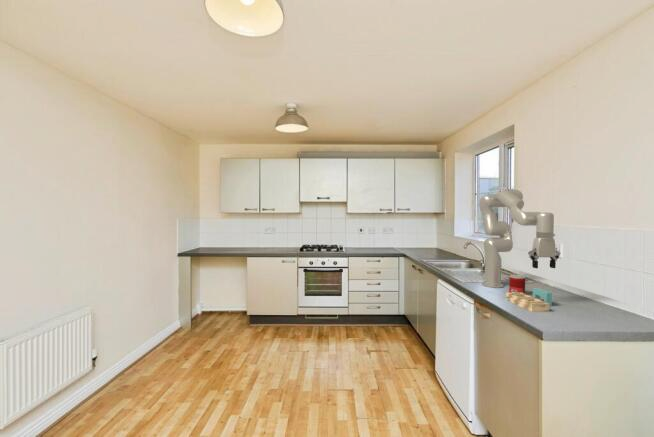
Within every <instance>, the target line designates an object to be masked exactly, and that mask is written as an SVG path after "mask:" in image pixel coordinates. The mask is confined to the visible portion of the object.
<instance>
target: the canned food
mask: <svg viewBox="0 0 654 437" xmlns="http://www.w3.org/2000/svg"><path fill="white" fill-rule="evenodd" d="M508 281H509V282H508V283H509V287H508V289H509V290H508V291H509V292H508V293H524V294H526V276H524V275H520V274H510V275H509V280H508Z"/></svg>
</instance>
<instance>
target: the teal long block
mask: <svg viewBox="0 0 654 437" xmlns="http://www.w3.org/2000/svg"><path fill="white" fill-rule="evenodd" d="M532 297H534V298H536V299H539V300H541V298H543V301H544V302H546V303H549V307H552V302H553V301H552V300H553V299H552V298H553V293H552V292H550V291H547V290H544V289H542V288H538V287H533V288H532Z"/></svg>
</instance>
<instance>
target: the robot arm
mask: <svg viewBox="0 0 654 437" xmlns="http://www.w3.org/2000/svg"><path fill="white" fill-rule="evenodd" d="M523 199H524V195H523V193H522V191H520V190H519V189H502V190H499V191H498V192H497V193H492V194H491V193H490V194H489V193H488V194H484V195H482V196H481V197H480V200H479V203H478V205H479V206H478V207H479V210H480V213H481V217H482V222H483V230H484V233H485V235H486V236H491V237H488V238H486V239H485V240H484V242H483V248H484V276H483V277H482V279H483V280H484V281H482V282H481V285H482V286H484V287H487V288H494V289H496V288H497V289H500V288H503V287H504V283H502V257H501V254H500V253H509V252H510V251H511V250H512V249H513V246H514V243H513V235H512V230H511V226H510V225H509V223H508V222H506V221H503V220H502V221H501V220H500V221H499V220H498V216H497V213H496V211H495V209H493V208H507V209H508V210H509V215H510V218H511V219H512V220H513V221H514V222H516V223H517V224H518V225H520V226H523V227H524V226H525V227H526V226H530V227H531V226H535V227H536V230H535V231H536V232H535V234H536V236H535V238H534V239H533V242H532V248H531V250H529V251H527V253H528V257H529V258H530V260H531V261H532V262H531V263H532V269H533V268H534V269H538V268H539V261H538V260H539V258H549V268H550V269H556V262H557V261H558V259H559V258H560V255H561V251H559V250H557V249H556V241H555V238H554V237H555V236H556V234H555V233H554V224H555V222H554V221H555V219H554V218H555V214H554V213H553V212H539V211H523V210H522V209H523V208H524V206H525V201H524V200H523ZM492 236H493V237H492ZM494 236H495V237H494ZM497 236H498V237H497Z"/></svg>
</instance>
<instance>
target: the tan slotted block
mask: <svg viewBox="0 0 654 437" xmlns="http://www.w3.org/2000/svg"><path fill="white" fill-rule="evenodd" d="M505 300H506V301H508V302H509V303H512V304H514V305H517V306H519V307H521V308H522V309H525V310H526V311H529V312H531V313H542V312H543V313H544V312H545V313H548V312H550V306H549V303H546V302H544V300H541V299H540V300H539V299H536V298H534V297H533V296H531V295H529V294H526V293H525V294H524V293H509V292H506V293H505Z"/></svg>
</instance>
